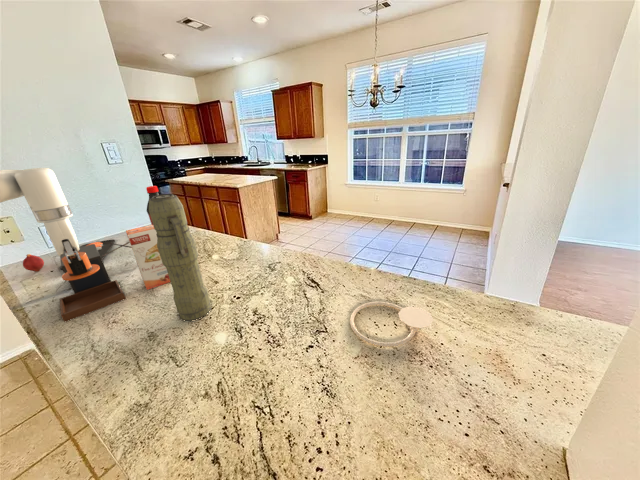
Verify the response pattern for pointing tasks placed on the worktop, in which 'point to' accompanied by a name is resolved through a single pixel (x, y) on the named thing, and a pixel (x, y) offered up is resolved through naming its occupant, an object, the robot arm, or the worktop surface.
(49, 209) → the robot arm
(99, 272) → the charcoal grey box
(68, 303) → the tray
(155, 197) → the thermos
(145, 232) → the cracker box
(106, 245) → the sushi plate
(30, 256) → the onion
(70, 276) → the hat
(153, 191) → the cola bottle
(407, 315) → the hand towel holder
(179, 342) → the worktop surface
